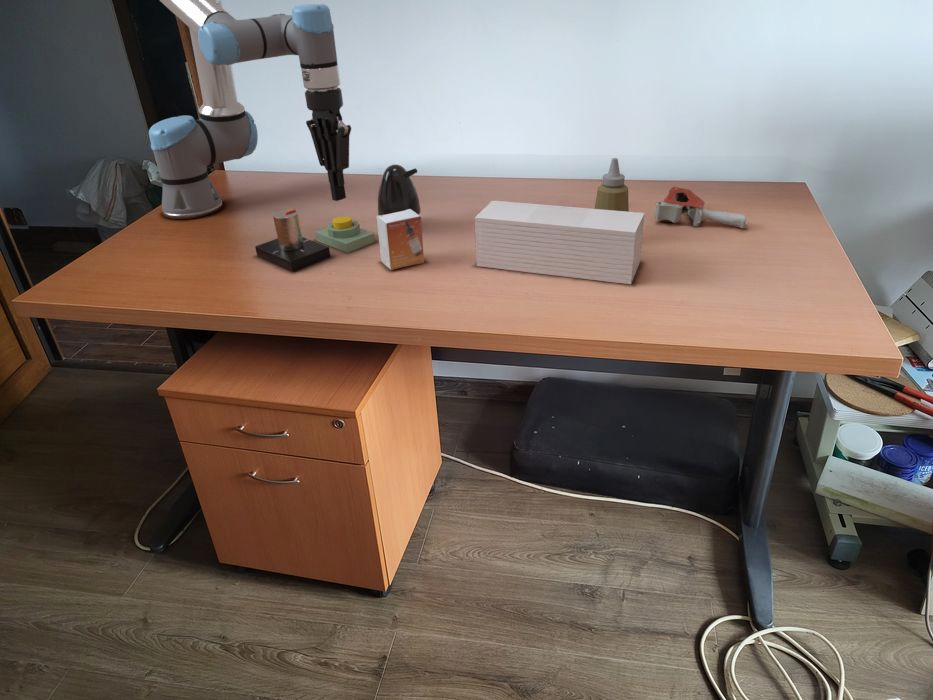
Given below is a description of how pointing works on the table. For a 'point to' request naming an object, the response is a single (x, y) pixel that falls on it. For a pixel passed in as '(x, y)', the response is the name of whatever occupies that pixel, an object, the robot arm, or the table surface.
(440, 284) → the table surface
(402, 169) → the pump dispenser
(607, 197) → the squeeze bottle
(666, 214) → the tape dispenser
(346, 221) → the button
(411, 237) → the small box
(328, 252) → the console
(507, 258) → the white ridged block
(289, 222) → the dial
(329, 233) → the button box
